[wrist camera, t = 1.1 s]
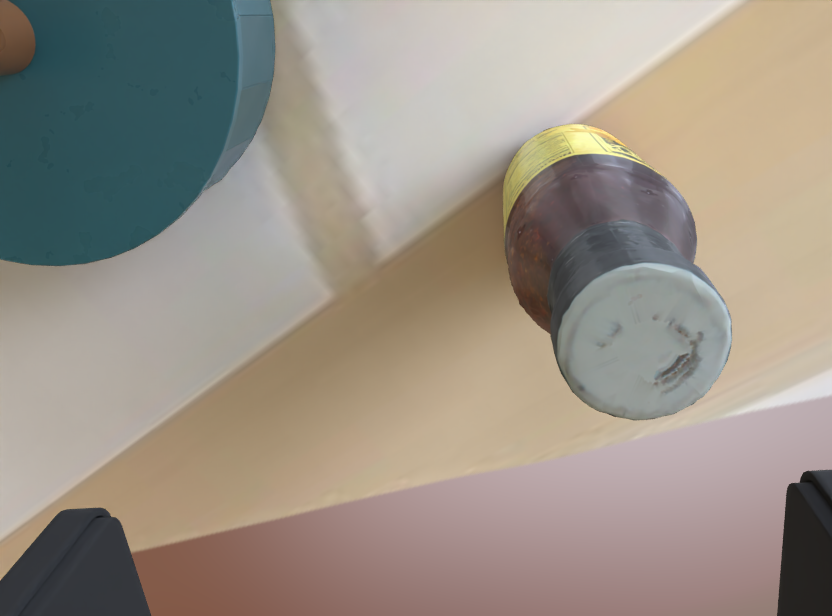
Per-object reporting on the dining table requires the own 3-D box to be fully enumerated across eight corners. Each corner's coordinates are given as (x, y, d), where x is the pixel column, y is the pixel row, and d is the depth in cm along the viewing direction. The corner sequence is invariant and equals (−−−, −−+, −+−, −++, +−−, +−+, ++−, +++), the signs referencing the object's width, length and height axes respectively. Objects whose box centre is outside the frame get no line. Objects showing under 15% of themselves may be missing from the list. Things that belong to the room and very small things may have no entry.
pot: (-125, -202, 31) (-268, -253, 25) (275, -175, 30) (225, -221, 24) (-54, 196, 38) (-155, 230, 32) (275, 228, 37) (235, 270, 31)
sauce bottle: (647, 219, 35) (825, 440, 17) (525, 263, 37) (568, 512, 18) (606, 90, 33) (759, 184, 15) (479, 142, 35) (475, 286, 16)
